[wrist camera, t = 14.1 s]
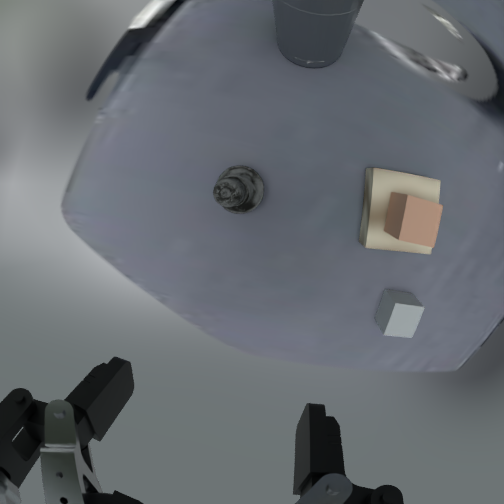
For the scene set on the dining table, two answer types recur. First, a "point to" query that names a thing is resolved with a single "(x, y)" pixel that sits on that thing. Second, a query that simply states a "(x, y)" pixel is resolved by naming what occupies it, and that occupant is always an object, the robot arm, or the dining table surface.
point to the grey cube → (398, 313)
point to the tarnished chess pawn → (239, 189)
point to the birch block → (377, 204)
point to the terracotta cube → (413, 219)
